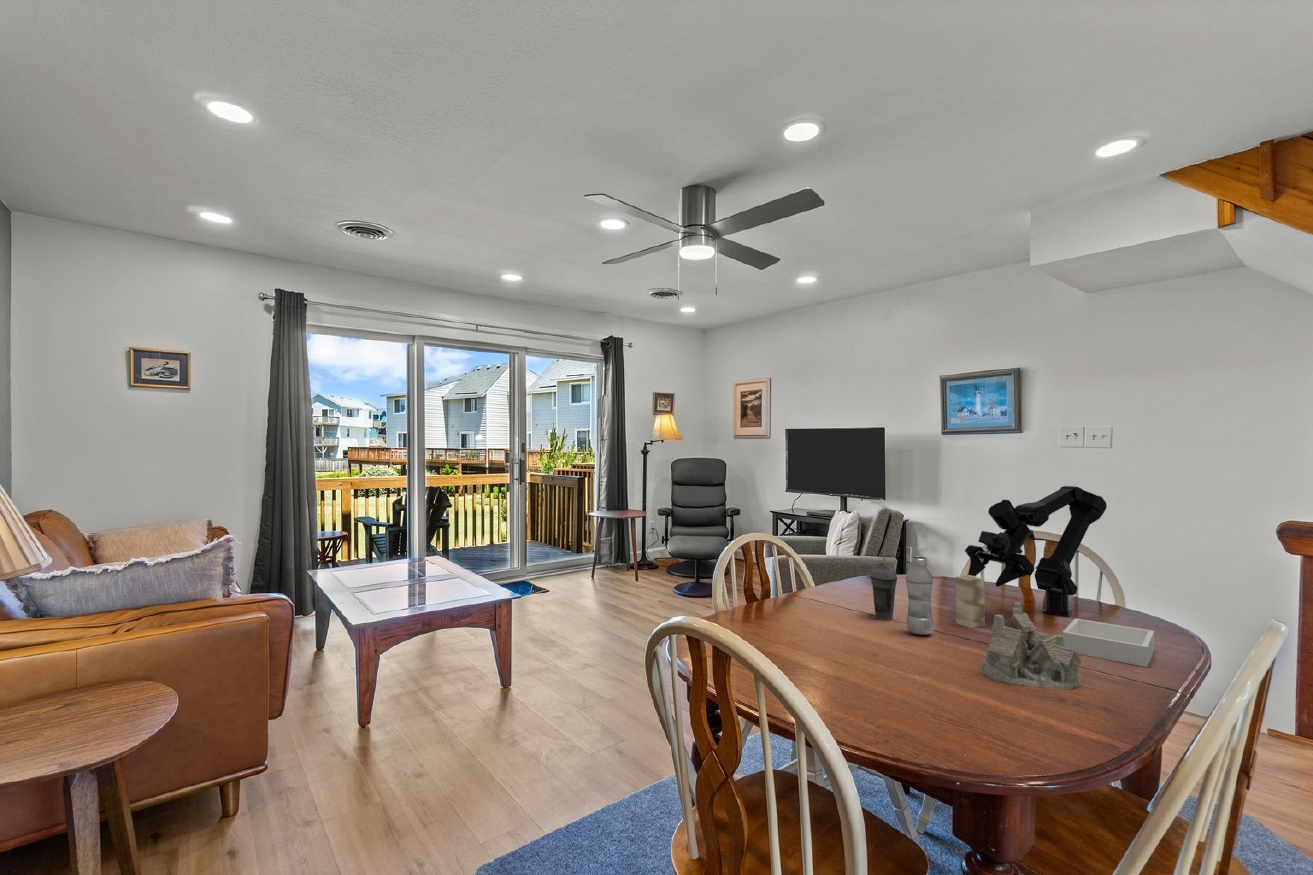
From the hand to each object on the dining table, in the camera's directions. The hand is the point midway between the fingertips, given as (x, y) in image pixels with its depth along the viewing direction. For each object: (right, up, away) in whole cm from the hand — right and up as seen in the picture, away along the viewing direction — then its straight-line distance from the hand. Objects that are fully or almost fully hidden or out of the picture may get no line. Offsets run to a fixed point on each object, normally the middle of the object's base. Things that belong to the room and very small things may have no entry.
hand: (982, 582), depth 171 cm
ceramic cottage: (-11, -11, -40) cm, 43 cm away
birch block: (-4, -11, -2) cm, 12 cm away
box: (+18, -11, -23) cm, 31 cm away
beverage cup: (-26, -12, +5) cm, 29 cm away
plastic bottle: (-22, -11, -10) cm, 26 cm away
